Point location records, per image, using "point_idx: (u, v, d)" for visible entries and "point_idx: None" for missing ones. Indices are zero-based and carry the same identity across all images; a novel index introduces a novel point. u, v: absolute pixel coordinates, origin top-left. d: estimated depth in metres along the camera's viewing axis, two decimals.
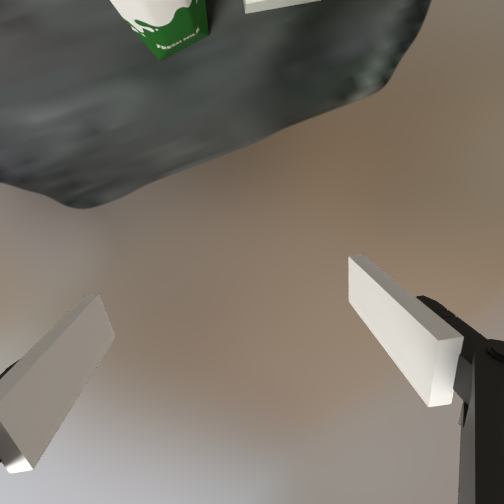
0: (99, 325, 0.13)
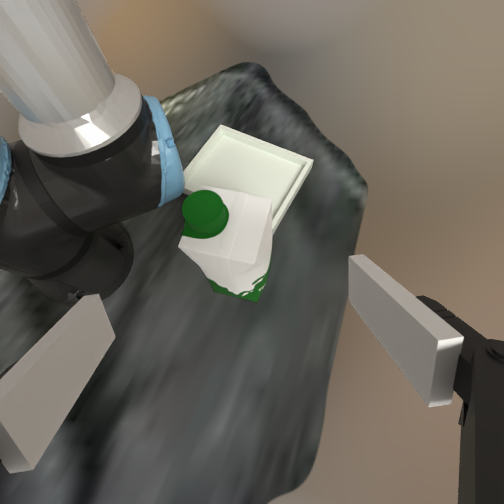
0: (99, 325, 0.13)
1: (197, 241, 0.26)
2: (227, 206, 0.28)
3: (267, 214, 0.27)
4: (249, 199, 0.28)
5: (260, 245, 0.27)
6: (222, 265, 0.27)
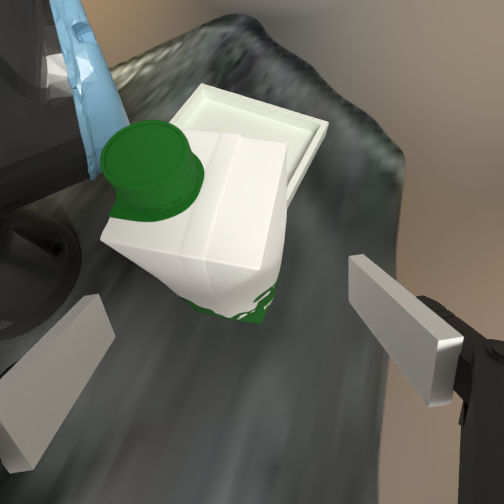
0: (99, 325, 0.13)
1: (139, 227, 0.13)
2: (201, 158, 0.14)
3: (279, 170, 0.14)
4: (243, 145, 0.15)
5: (270, 230, 0.13)
6: (192, 273, 0.13)
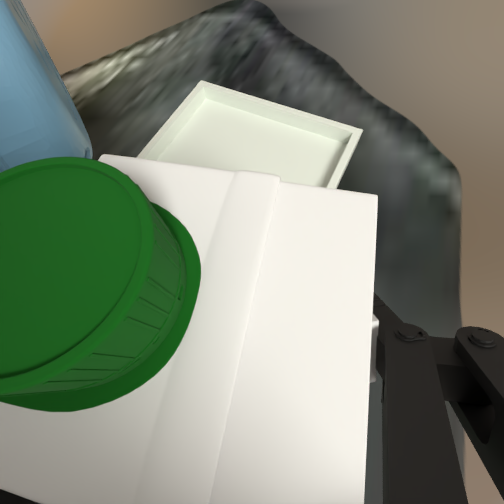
0: None
1: (33, 427, 0.05)
2: (194, 231, 0.07)
3: (371, 264, 0.06)
4: (284, 200, 0.07)
5: (363, 428, 0.05)
6: None
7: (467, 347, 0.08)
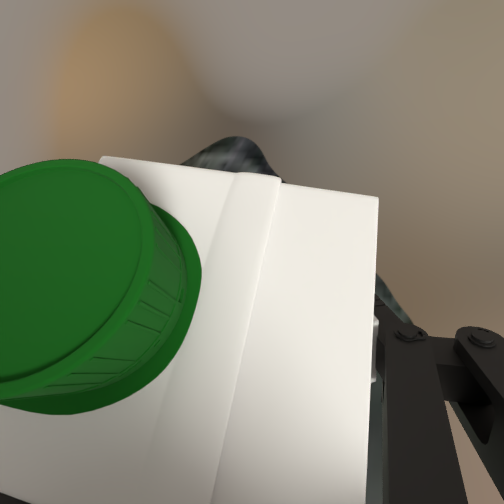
0: None
1: (33, 430, 0.05)
2: (195, 233, 0.07)
3: (372, 266, 0.06)
4: (285, 202, 0.07)
5: (364, 432, 0.05)
6: None
7: (467, 347, 0.08)
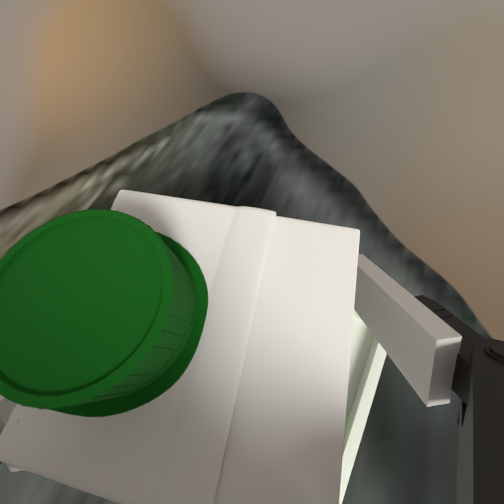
0: None
1: (73, 429, 0.06)
2: (201, 261, 0.08)
3: (352, 291, 0.07)
4: (279, 234, 0.08)
5: (342, 431, 0.06)
6: None
7: None
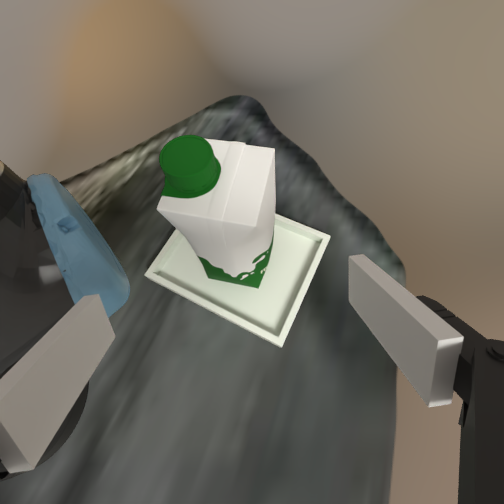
0: (99, 325, 0.13)
1: (180, 201, 0.21)
2: (218, 158, 0.22)
3: (269, 166, 0.22)
4: (246, 150, 0.22)
5: (262, 204, 0.21)
6: (214, 231, 0.21)
7: None
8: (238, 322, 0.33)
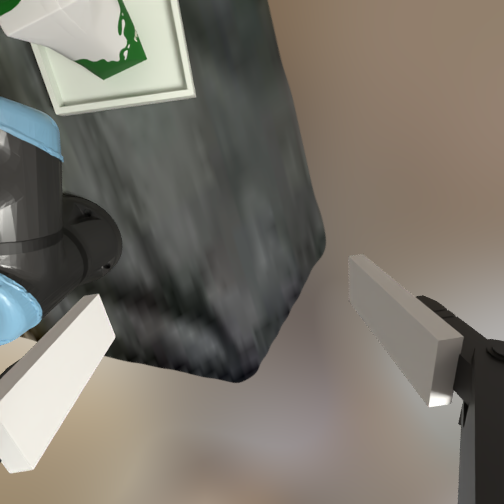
0: (99, 325, 0.13)
1: (15, 13, 0.22)
2: None
3: None
4: None
5: None
6: (65, 24, 0.23)
7: None
8: (153, 99, 0.39)
